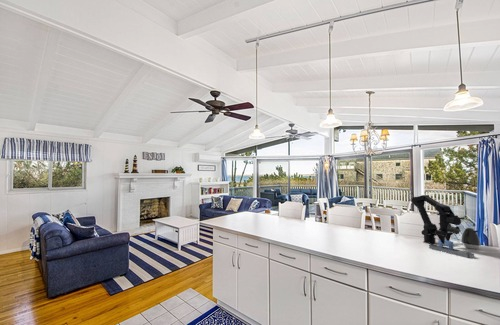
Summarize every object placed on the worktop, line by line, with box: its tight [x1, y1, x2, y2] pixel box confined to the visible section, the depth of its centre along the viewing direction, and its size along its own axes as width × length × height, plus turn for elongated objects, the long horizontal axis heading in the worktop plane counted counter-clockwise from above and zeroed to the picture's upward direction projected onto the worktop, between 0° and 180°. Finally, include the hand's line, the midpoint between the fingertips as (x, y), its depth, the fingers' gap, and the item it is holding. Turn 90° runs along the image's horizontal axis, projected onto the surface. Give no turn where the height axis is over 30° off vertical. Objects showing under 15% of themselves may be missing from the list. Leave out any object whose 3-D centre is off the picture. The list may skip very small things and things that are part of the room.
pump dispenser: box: [461, 227, 481, 250], centre depth 168 cm, size 10×10×15 cm
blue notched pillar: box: [437, 238, 454, 249], centre depth 166 cm, size 8×3×6 cm, turn 30°
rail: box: [428, 243, 475, 260], centre depth 157 cm, size 24×6×2 cm, turn 30°
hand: (445, 242), depth 166 cm, fingers open, 9 cm apart
